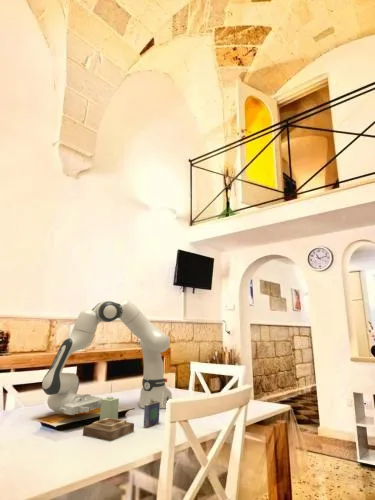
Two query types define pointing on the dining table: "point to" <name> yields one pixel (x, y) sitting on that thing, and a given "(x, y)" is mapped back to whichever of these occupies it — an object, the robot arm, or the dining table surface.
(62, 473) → the dining table surface
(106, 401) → the pillar
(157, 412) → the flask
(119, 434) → the base
